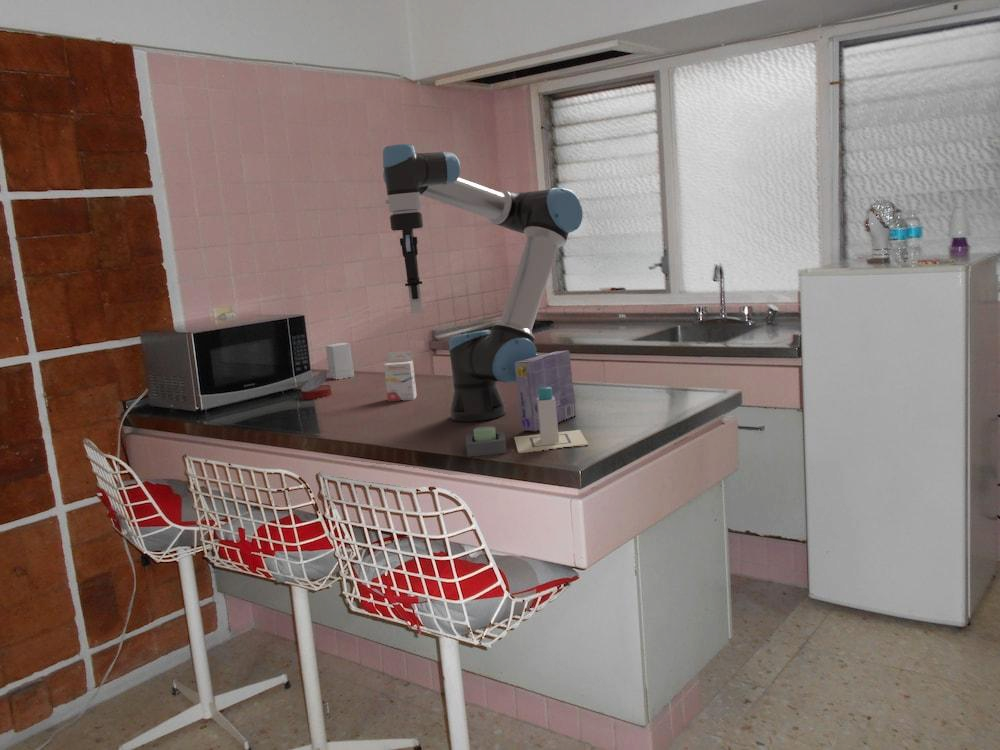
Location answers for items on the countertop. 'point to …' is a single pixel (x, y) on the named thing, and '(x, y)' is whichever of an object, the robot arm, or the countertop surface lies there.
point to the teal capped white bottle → (547, 415)
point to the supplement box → (340, 360)
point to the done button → (484, 433)
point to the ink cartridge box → (400, 377)
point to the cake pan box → (544, 374)
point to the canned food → (316, 387)
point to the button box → (486, 445)
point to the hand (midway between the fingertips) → (417, 312)
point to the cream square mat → (535, 444)
